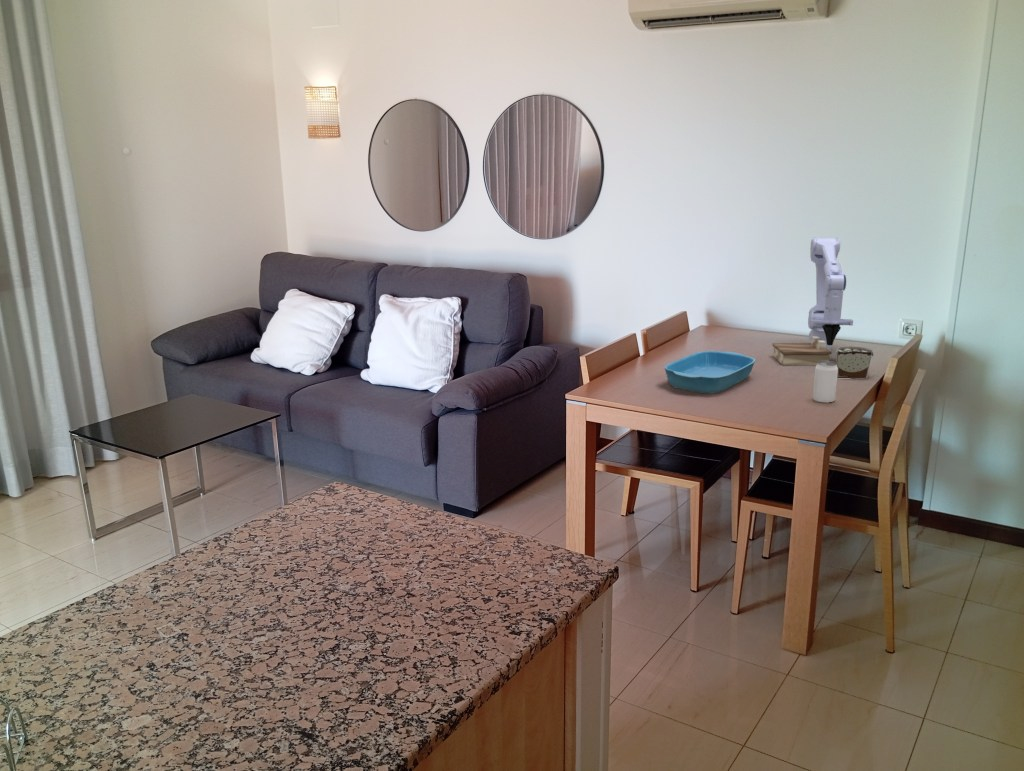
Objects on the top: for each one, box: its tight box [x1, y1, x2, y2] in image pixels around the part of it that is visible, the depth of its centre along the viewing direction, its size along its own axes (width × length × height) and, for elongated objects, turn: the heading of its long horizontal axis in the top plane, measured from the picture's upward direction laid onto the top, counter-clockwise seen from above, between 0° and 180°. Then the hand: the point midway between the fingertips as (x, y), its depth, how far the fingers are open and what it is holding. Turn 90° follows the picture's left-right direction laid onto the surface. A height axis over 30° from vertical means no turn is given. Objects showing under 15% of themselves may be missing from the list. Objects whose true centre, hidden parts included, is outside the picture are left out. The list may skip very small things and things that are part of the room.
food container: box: [834, 345, 874, 380], centre depth 275 cm, size 12×6×10 cm, turn 84°
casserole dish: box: [664, 350, 756, 394], centre depth 272 cm, size 37×22×7 cm, turn 140°
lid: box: [772, 336, 833, 355], centre depth 293 cm, size 14×17×4 cm
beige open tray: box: [773, 347, 830, 366], centre depth 295 cm, size 13×16×4 cm
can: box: [812, 360, 838, 404], centre depth 249 cm, size 6×6×12 cm
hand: (829, 344), depth 293 cm, fingers closed
